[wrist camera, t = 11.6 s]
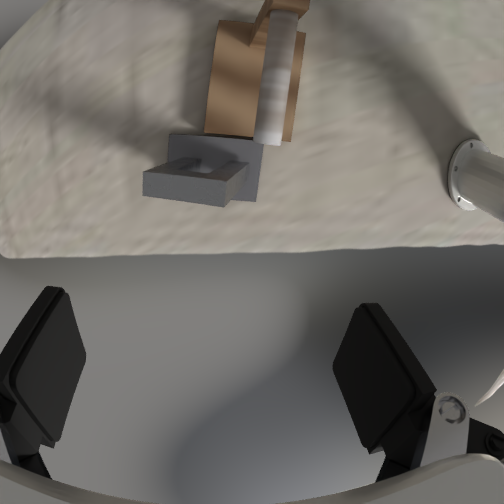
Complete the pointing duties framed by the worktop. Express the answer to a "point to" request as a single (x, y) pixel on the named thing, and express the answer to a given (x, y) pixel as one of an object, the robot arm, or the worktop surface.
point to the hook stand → (257, 74)
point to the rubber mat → (220, 157)
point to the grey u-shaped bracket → (195, 181)
